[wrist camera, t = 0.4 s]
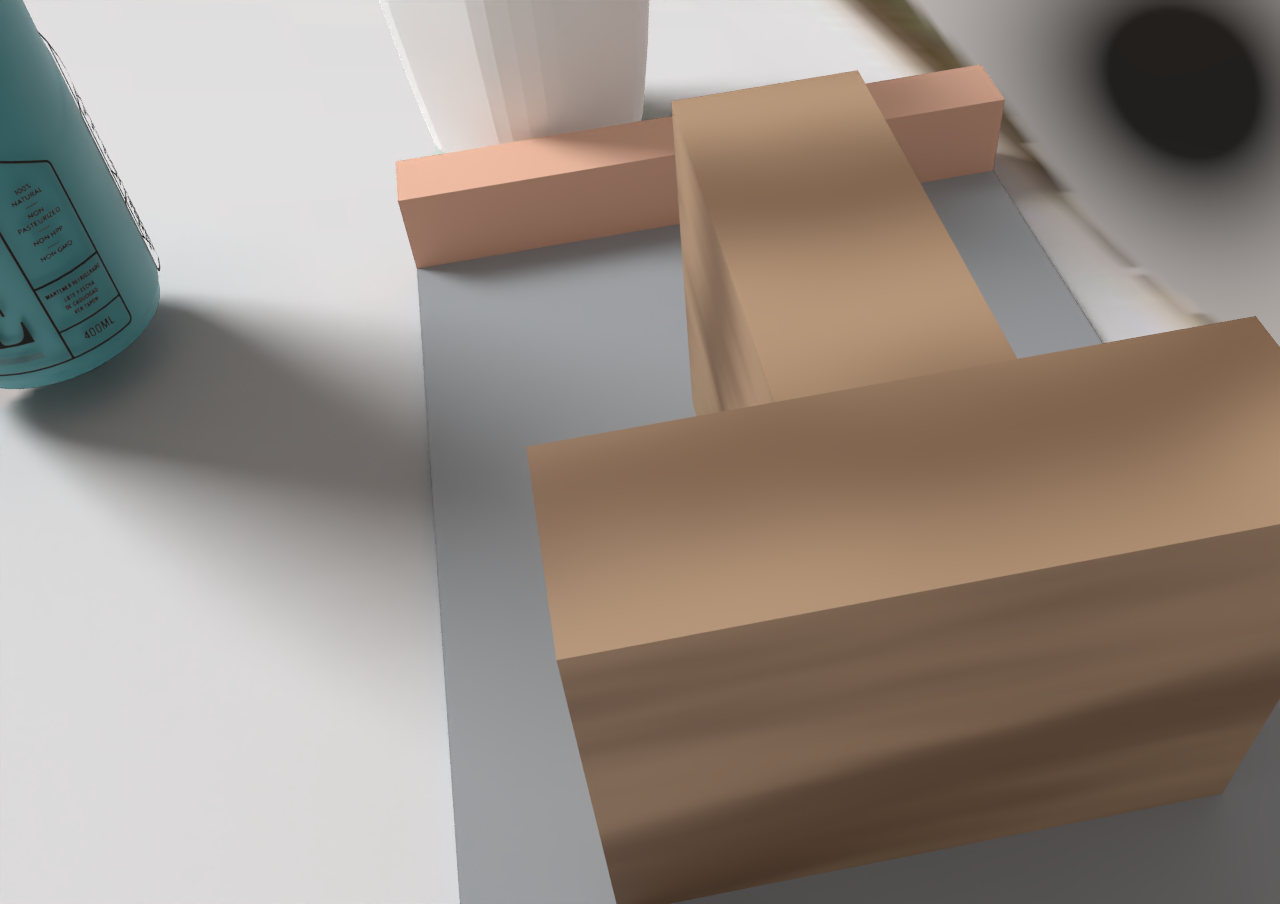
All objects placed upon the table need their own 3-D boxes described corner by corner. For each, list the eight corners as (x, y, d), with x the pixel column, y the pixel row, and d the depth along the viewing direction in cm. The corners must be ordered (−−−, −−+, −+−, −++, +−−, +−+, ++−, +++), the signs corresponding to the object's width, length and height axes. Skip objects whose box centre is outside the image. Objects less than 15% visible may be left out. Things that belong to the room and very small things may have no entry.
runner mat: (1453, 922, 22) (1526, 856, 20) (478, 1124, 21) (445, 1077, 19) (963, 137, 39) (975, 56, 37) (416, 229, 39) (395, 152, 36)
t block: (1222, 793, 24) (1399, 501, 17) (619, 913, 23) (556, 661, 16) (985, 348, 32) (1041, 40, 26) (542, 427, 32) (481, 132, 25)
